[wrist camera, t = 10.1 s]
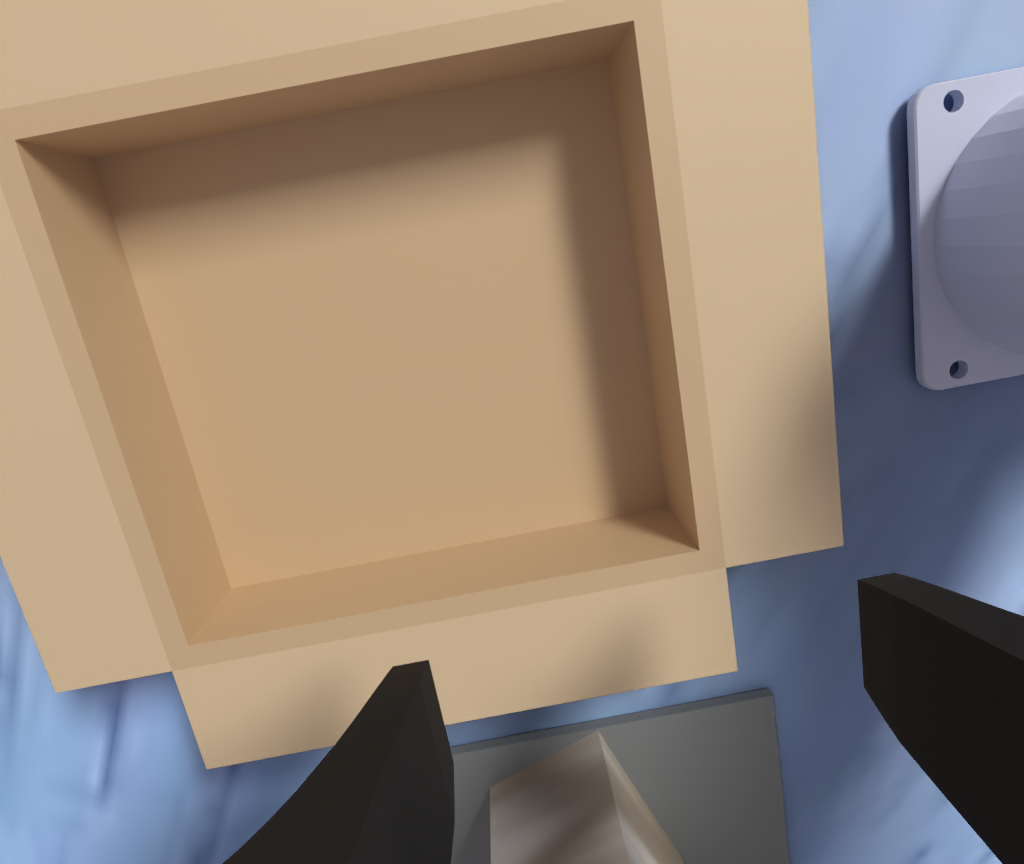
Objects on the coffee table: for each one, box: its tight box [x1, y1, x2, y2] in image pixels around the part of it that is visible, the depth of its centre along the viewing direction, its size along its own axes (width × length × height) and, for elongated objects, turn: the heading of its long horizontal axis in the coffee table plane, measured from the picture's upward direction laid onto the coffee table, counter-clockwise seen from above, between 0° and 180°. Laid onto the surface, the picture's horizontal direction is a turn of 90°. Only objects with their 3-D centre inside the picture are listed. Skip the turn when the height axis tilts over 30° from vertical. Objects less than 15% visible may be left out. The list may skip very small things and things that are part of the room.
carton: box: [0, 0, 844, 769], centre depth 18 cm, size 20×19×4 cm
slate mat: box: [450, 688, 790, 864], centre depth 24 cm, size 12×10×1 cm
